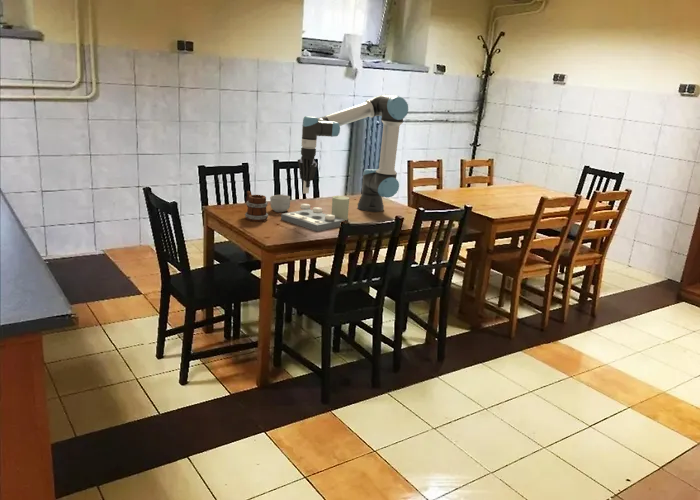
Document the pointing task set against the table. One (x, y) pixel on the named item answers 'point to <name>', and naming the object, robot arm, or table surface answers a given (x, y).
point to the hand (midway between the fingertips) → (305, 193)
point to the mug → (256, 208)
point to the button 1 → (305, 206)
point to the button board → (311, 220)
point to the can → (340, 207)
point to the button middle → (317, 210)
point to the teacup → (280, 203)
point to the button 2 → (330, 217)
